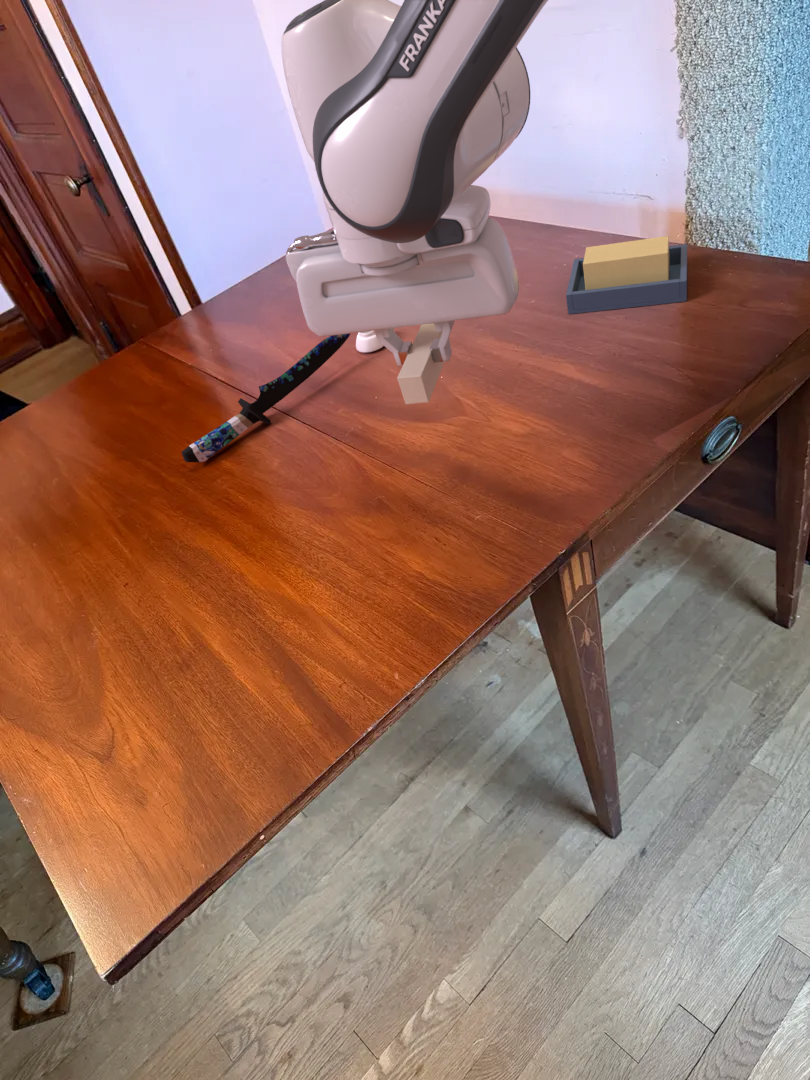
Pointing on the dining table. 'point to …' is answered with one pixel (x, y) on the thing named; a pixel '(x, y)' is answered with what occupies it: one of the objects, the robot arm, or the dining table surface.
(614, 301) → the butter dish
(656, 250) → the butter
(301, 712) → the dining table surface
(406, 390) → the butter knife
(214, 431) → the knife
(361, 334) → the lidless jar
